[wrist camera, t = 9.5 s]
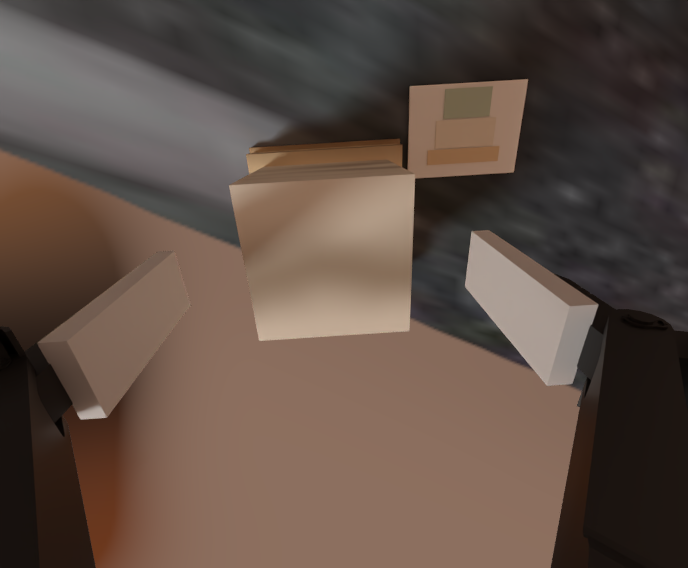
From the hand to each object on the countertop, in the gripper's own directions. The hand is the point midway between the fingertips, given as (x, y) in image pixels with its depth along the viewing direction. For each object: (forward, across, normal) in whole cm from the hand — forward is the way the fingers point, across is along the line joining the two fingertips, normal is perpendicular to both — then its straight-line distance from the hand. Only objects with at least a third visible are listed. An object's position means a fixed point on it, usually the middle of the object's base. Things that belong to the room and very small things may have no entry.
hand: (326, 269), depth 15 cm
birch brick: (+9, 0, 0) cm, 9 cm away
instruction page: (+12, +10, +5) cm, 16 cm away
